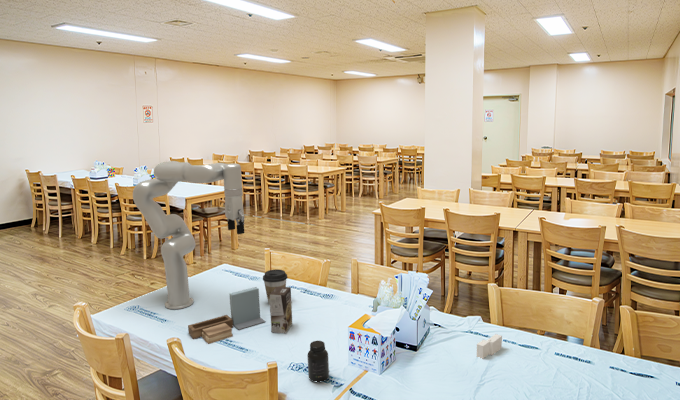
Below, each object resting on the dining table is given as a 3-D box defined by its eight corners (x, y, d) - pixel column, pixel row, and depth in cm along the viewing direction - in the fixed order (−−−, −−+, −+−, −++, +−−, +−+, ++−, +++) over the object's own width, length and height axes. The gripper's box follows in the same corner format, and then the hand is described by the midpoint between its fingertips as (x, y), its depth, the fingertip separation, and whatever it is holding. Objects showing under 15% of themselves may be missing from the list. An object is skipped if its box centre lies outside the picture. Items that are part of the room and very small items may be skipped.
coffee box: (286, 333, 186) (284, 295, 183) (270, 332, 188) (268, 294, 185) (293, 323, 195) (291, 286, 192) (278, 322, 196) (276, 286, 193)
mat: (227, 320, 200) (227, 319, 200) (253, 313, 207) (253, 312, 206) (238, 330, 190) (238, 329, 190) (265, 322, 197) (265, 321, 197)
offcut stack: (201, 338, 185) (201, 329, 184) (225, 330, 191) (225, 322, 190) (208, 344, 180) (207, 336, 179) (232, 337, 185) (232, 328, 185)
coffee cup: (259, 306, 213) (257, 275, 211) (272, 297, 224) (270, 267, 221) (281, 310, 209) (279, 278, 206) (293, 300, 219) (291, 269, 217)
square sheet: (231, 323, 196) (229, 293, 194) (257, 315, 203) (256, 286, 200) (233, 325, 194) (231, 295, 192) (260, 317, 201) (258, 288, 198)
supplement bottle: (308, 372, 158) (306, 339, 156) (328, 371, 158) (327, 338, 156) (308, 384, 151) (307, 349, 149) (329, 382, 152) (328, 348, 149)
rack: (188, 333, 188) (187, 325, 188) (227, 322, 198) (226, 314, 197) (193, 339, 184) (192, 330, 183) (233, 327, 193) (232, 319, 192)
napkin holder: (500, 344, 174) (501, 330, 173) (514, 360, 163) (515, 344, 162) (461, 347, 173) (461, 333, 172) (473, 363, 162) (473, 348, 161)
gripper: (217, 191, 205) (220, 229, 208) (233, 196, 191) (235, 237, 194) (233, 189, 209) (236, 226, 212) (250, 194, 195) (252, 234, 198)
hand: (236, 231), depth 203 cm, fingers open, 9 cm apart
